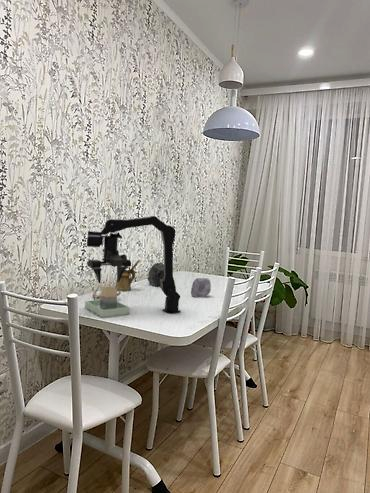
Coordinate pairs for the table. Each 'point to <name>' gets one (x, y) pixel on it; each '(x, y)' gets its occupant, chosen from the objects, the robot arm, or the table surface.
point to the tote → (95, 307)
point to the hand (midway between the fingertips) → (109, 282)
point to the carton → (108, 291)
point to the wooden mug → (126, 279)
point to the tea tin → (108, 302)
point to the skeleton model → (97, 297)
